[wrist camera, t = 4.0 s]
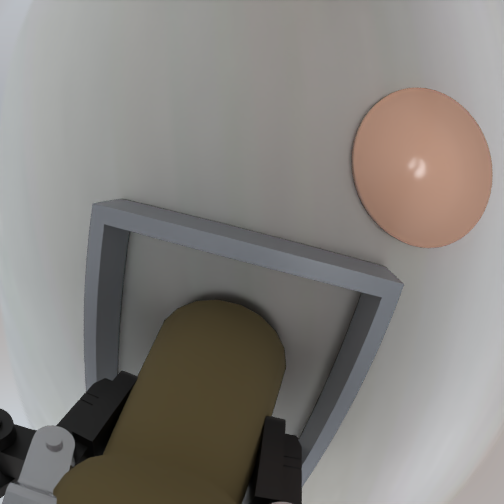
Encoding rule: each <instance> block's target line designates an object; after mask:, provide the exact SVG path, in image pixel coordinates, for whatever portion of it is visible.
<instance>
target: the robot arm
mask: <svg viewBox="0 0 504 504" xmlns="http://www.w3.org/2000/svg"><path fill="white" fill-rule="evenodd" d="M137 379H138V376H135V375H132V374H130V373H127V372H125V371H120V372H119V374H118V375H117V376H116V377H115V378H114V380H113V381H112V380H109V379H107V378H104V379H102V380H100V381H98V382H95V383H94V384H93V385H92V386H91V387H90V388H89V389H88V390H87V391H86V394H84V395H83V396H82V397H81V398H80V400H79V401H78V402H77V403H76V404H75V405H74V406H73V407H72V408H71V410H70V411H69V412H68V413H67V414H66V415H65V416H64V418H63V419H62V420H61V421H60V422H59V423H58V424H57V425H56V426H45V427H42V428H40V429H39V430H32V429H28V428H25V427H22V426H18V425H15V424H14V423H13V420H12V418H11V416H10V415H9V414H8V413H7V412H6V411H4V410H2V409H0V498H1V497H3V496H4V495H5V496H4V499H3V502H2V504H57V498H56V496H55V495H53V489H54V488H55V486H56V485H57V484H58V482H59V481H60V480H61V478H62V477H63V476H64V474H65V473H67V472H68V471H70V470H71V469H72V468H73V467H74V466H76V465H77V464H79V463H81V462H82V461H84V460H86V459H88V458H90V457H95V456H100V455H103V453H104V451H105V448H106V446H107V444H108V441H109V439H110V437H111V434H112V432H113V430H114V428H115V425H116V423H117V421H118V419H119V416H120V414H121V412H122V410H123V407H124V405H125V403H126V401H127V399H128V396H129V394H130V392H131V390H132V388H133V386H134V384H135V382H136V381H137ZM301 460H302V446H301V444H300V442H299V440H298V438H297V436H294V435H289V434H285V419H280V418H275V417H271V416H266V417H265V422H264V427H263V432H262V437H261V442H260V446H259V451H258V456H257V461H256V465H255V468H254V471H253V474H252V477H251V480H250V483H249V485H248V488H247V491H246V494H245V497H244V499H243V502H242V504H302V470H301V469H302V461H301Z"/></svg>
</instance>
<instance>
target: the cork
mask: <svg viewBox="0 0 504 504" xmlns="http://www.w3.org/2000/svg"><path fill="white" fill-rule="evenodd" d="M285 369H286V361H285V350H284V347H283V345H282V343H281V341H280V339H279V337H278V335H277V333H276V331H275V330H274V329H273V328H272V327H271V326H270V325H269V324H268V323H267V322H266V321H265V320H264V319H263V318H262V317H261V316H260V315H258V314H256V313H255V312H253V311H251V310H249V309H247V308H246V307H244V306H242V305H240V304H235V303H231V302H226V301H222V300H203V301H195V302H193V303H190V304H188V305H185V306H183V307H180V308H178V309H177V310H176V311H175V312H173V313H172V314H171V315H170V316H169V317H168V318H167V319H166V320H165V321H164V323H163V325H162V327H161V329H160V331H159V333H158V335H157V337H156V339H155V341H154V343H153V346H152V348H151V350H150V352H149V354H148V356H147V358H146V360H145V362H144V364H143V366H142V369H141V371H140V373H139V375H138V379H137V381H136V382H135V384H134V386H133V388H132V390H131V392H130V394H129V396H128V399H127V401H126V403H125V405H124V407H123V410H122V412H121V414H120V416H119V419H118V421H117V423H116V425H115V428H114V430H113V432H112V434H111V437H110V439H109V441H108V444H107V446H106V448H105V451H104V453H103V455H100V456H95V457H90V458H88V459H86V460H84V461H82V462H81V463H79V464H77V465H76V466H74V467H73V468H72V469H71V470H70V471H68V472H67V473H65V474H64V476H63V477H62V478H61V480H60V481H59V482H58V484H57V485H56V486H55V488H54V489H53V495H55V496H56V498H57V504H242V502H243V499H244V497H245V494H246V491H247V488H248V485H249V483H250V480H251V477H252V474H253V471H254V468H255V465H256V461H257V456H258V451H259V446H260V442H261V437H262V432H263V427H264V422H265V417H266V416H272V413H273V409H274V406H275V403H276V399H277V396H278V393H279V389H280V386H281V383H282V379H283V376H284V372H285Z"/></svg>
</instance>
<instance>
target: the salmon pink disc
mask: <svg viewBox="0 0 504 504" xmlns="http://www.w3.org/2000/svg"><path fill="white" fill-rule="evenodd" d="M352 174H353V178H354V183H355V187H356V190H357V193H358V196H359V198H360V200H361V202H362V204H363V206H364V208H365V209H366V211H367V212H368V214H369V215H370V216H371V218H372V219H373V220H374V221H375V222H376V223H377V224H378V225H379V226H380V227H381V228H382V229H383V230H384V231H386V232H387V233H388V234H390V235H391V236H393V237H395V238H397V239H398V240H400V241H402V242H404V243H407V244H409V245H412V246H417V247H423V248H435V247H441V246H446V245H448V244H451V243H453V242H455V241H457V240H459V239H461V238H462V237H463V236H465V235H466V234H467V233H468V232H469V231H470V230H471V229H472V228H473V227H474V226H475V225H476V224H477V222H478V221H479V219H480V218H481V216H482V214H483V213H484V211H485V208H486V206H487V203H488V200H489V197H490V193H491V187H492V162H491V156H490V152H489V148H488V145H487V142H486V139H485V137H484V135H483V133H482V131H481V129H480V127H479V125H478V124H477V123H476V121H475V120H474V118H473V117H472V116H471V115H470V113H469V112H468V111H467V110H466V109H465V108H464V107H463V106H462V105H460V104H459V103H458V102H456V101H455V100H454V99H452V98H451V97H449V96H447V95H445V94H443V93H440V92H438V91H435V90H431V89H427V88H407V89H403V90H399V91H396V92H394V93H391V94H389V95H388V96H386V97H384V98H383V99H382V100H380V101H379V102H378V103H377V104H376V105H374V106H373V107H372V108H371V109H370V111H369V112H368V113H367V114H366V115H365V117H364V118H363V120H362V122H361V123H360V126H359V128H358V130H357V132H356V136H355V139H354V143H353V149H352Z"/></svg>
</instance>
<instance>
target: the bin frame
mask: <svg viewBox="0 0 504 504" xmlns="http://www.w3.org/2000/svg"><path fill="white" fill-rule="evenodd" d="M130 231H131V232H135V233H138V234H142V235H146V236H149V237H153V238H157V239H160V240H164V241H168V242H171V243H175V244H179V245H182V246H186V247H190V248H194V249H197V250H201V251H205V252H209V253H212V254H216V255H220V256H224V257H227V258H231V259H235V260H239V261H242V262H246V263H250V264H254V265H258V266H262V267H265V268H269V269H273V270H277V271H281V272H284V273H288V274H292V275H296V276H300V277H304V278H308V279H312V280H315V281H319V282H323V283H327V284H331V285H335V286H339V287H343V288H347V289H351V290H355V291H359V292H362V294H361V297H360V299H359V302H358V305H357V308H356V310H355V313H354V316H353V318H352V321H351V324H350V326H349V329H348V331H347V334H346V337H345V339H344V342H343V344H342V347H341V349H340V351H339V354H338V356H337V359H336V361H335V363H334V366H333V368H332V370H331V373H330V375H329V377H328V380H327V382H326V384H325V386H324V389H323V391H322V393H321V395H320V397H319V400H318V402H317V404H316V406H315V408H314V410H313V412H312V414H311V416H310V419H309V421H308V423H307V425H306V427H305V429H304V431H303V433H302V435H301V437H300V439H299V442H300V444H301V446H302V460H301V461H302V469H301V470H302V486H303V485H304V483H305V482H306V480H307V479H308V477H309V476H310V474H311V473H312V471H313V470H314V468H315V467H316V465H317V463H318V462H319V460H320V459H321V457H322V455H323V454H324V452H325V450H326V449H327V447H328V445H329V444H330V442H331V440H332V439H333V437H334V435H335V434H336V432H337V430H338V428H339V426H340V425H341V423H342V421H343V419H344V417H345V416H346V414H347V412H348V410H349V408H350V406H351V404H352V402H353V401H354V399H355V397H356V395H357V393H358V391H359V389H360V387H361V385H362V383H363V381H364V379H365V377H366V375H367V372H368V370H369V368H370V366H371V364H372V362H373V360H374V357H375V355H376V353H377V351H378V349H379V346H380V344H381V342H382V339H383V337H384V335H385V332H386V330H387V328H388V325H389V323H390V320H391V318H392V315H393V313H394V310H395V308H396V305H397V302H398V300H399V297H400V294H401V292H402V289H403V286H404V284H403V283H402V282H401V281H400V280H399V279H398V278H397V277H396V276H395V275H394V274H393V273H392V272H391V271H390V270H389V269H388V268H387V267H385V266H381V265H378V264H374V263H370V262H367V261H363V260H360V259H356V258H352V257H349V256H345V255H341V254H338V253H334V252H330V251H327V250H323V249H319V248H315V247H312V246H308V245H304V244H300V243H297V242H293V241H289V240H285V239H281V238H278V237H274V236H270V235H266V234H262V233H258V232H254V231H250V230H247V229H243V228H239V227H235V226H231V225H227V224H223V223H219V222H215V221H211V220H207V219H203V218H199V217H195V216H191V215H187V214H183V213H179V212H175V211H171V210H167V209H162V208H158V207H154V206H150V205H146V204H142V203H138V202H133V201H129V200H125V199H117V200H110V201H104V202H98V203H93V205H92V213H91V221H90V229H89V238H88V249H87V261H86V275H85V295H84V362H85V382H86V391H87V390H88V389H89V388H90V387H91V386H92V385H93V384H94V383H95V382H98V381H100V380H102V379H104V378H107V379H109V380H112V381H113V380H114V378H115V377H116V376H117V374H118V344H119V326H120V312H121V300H122V289H123V279H124V270H125V262H126V254H127V246H128V239H129V232H130Z"/></svg>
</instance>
